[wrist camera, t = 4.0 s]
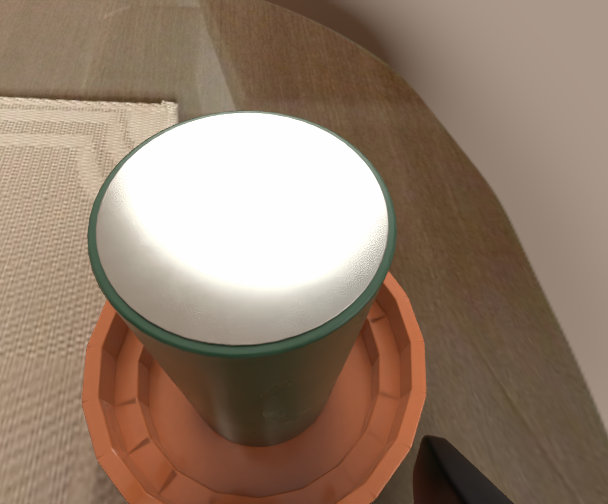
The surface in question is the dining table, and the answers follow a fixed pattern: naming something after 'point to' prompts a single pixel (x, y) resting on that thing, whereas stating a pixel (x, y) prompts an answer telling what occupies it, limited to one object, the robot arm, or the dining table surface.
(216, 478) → the bowl
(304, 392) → the tin
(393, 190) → the dining table surface
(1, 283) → the dining table surface
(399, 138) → the dining table surface
